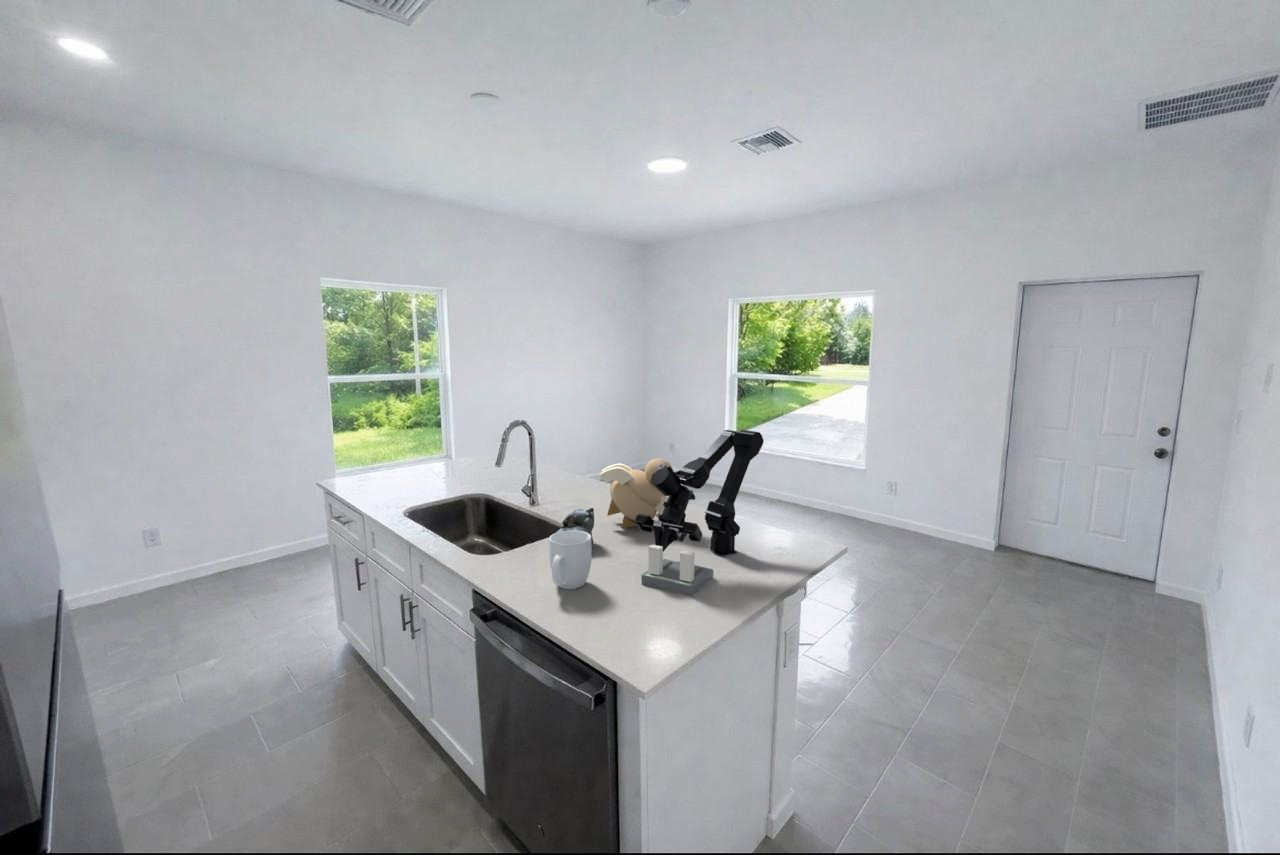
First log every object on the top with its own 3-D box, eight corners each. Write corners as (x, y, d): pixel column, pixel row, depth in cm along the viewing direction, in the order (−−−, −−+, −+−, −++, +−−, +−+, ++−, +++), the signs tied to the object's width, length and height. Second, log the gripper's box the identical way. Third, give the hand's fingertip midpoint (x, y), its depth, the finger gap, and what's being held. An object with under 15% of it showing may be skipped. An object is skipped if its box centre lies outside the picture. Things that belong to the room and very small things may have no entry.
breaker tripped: (652, 570, 145) (652, 544, 144) (662, 572, 143) (662, 546, 142) (648, 572, 143) (648, 546, 142) (659, 575, 141) (659, 548, 140)
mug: (575, 602, 132) (574, 551, 130) (535, 596, 136) (534, 546, 134) (598, 578, 146) (597, 532, 145) (561, 573, 150) (560, 528, 148)
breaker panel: (664, 567, 154) (664, 558, 154) (713, 577, 147) (713, 568, 146) (641, 583, 143) (641, 574, 143) (693, 596, 136) (693, 586, 135)
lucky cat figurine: (543, 545, 171) (552, 502, 176) (575, 553, 178) (584, 511, 182) (566, 544, 160) (575, 499, 164) (600, 553, 166) (608, 508, 171)
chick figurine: (635, 437, 177) (636, 428, 199) (579, 499, 180) (587, 483, 202) (702, 496, 179) (696, 481, 201) (646, 557, 182) (646, 535, 205)
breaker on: (682, 576, 140) (683, 550, 139) (694, 579, 139) (694, 552, 138) (679, 579, 139) (679, 552, 138) (690, 582, 137) (691, 555, 136)
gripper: (714, 524, 153) (697, 575, 145) (656, 514, 162) (637, 562, 154) (704, 504, 145) (685, 556, 137) (643, 495, 154) (623, 543, 146)
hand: (657, 555), depth 144 cm, fingers closed, pressing on breaker tripped
